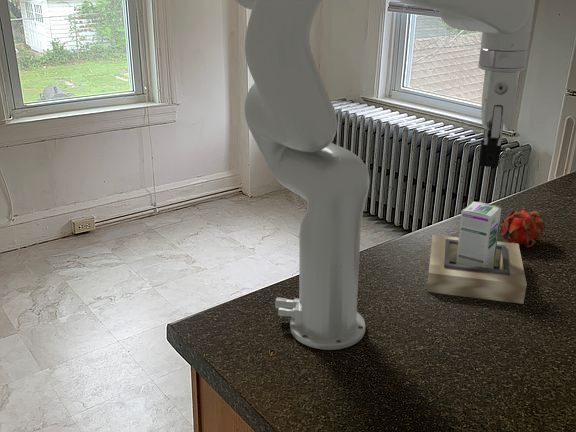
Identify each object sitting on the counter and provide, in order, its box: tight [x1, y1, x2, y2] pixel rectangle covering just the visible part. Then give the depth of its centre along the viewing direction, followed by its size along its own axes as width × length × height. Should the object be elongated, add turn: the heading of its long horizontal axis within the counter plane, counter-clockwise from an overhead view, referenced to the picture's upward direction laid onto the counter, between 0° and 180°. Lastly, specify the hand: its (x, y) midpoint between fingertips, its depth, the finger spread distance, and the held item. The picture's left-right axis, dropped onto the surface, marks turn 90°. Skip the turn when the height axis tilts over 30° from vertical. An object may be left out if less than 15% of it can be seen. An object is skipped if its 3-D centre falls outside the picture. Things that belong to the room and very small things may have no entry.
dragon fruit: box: [499, 207, 547, 249], centre depth 128 cm, size 8×8×12 cm
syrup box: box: [455, 201, 502, 269], centre depth 113 cm, size 6×6×14 cm
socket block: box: [426, 234, 528, 305], centre depth 115 cm, size 17×17×5 cm
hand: (488, 163), depth 107 cm, fingers closed
